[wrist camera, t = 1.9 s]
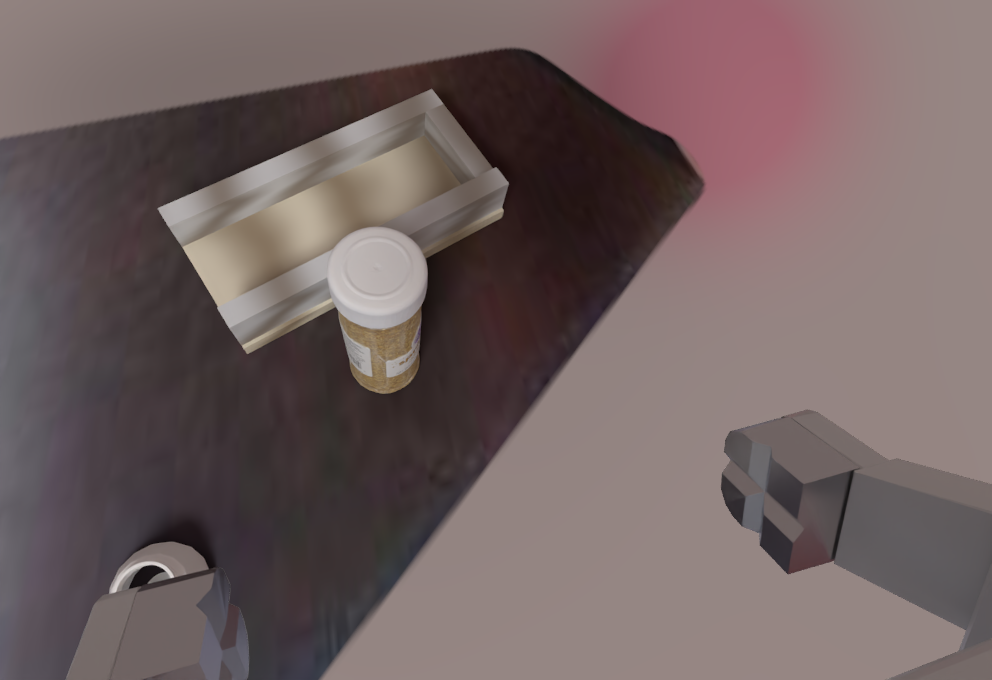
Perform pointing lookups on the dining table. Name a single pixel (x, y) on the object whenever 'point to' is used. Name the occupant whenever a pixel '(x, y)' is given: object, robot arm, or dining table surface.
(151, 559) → the lidless jar
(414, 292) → the sprinkles bottle
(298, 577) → the dining table surface
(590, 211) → the dining table surface
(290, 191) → the track
